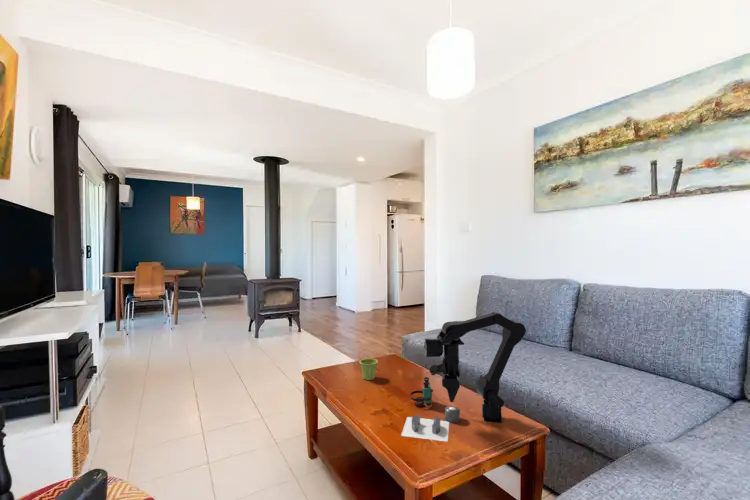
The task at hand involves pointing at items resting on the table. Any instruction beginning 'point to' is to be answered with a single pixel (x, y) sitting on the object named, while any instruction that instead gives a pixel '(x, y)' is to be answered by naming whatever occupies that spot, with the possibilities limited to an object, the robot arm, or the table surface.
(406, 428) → the mat
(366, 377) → the plant pot
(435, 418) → the curved wall segments
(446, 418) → the grey cylinder white dome
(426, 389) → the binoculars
